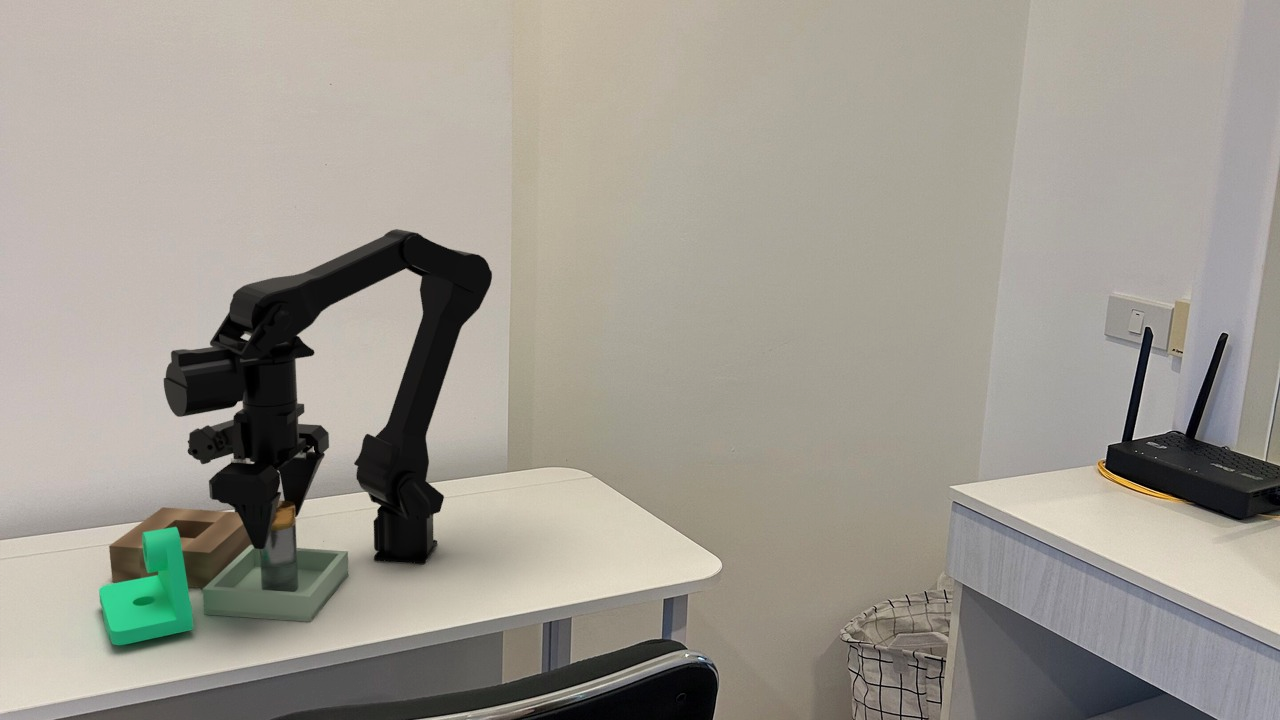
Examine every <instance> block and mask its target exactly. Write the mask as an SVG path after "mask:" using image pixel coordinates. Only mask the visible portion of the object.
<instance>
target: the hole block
mask: <svg viewBox="0 0 1280 720" xmlns="http://www.w3.org/2000/svg"><path fill="white" fill-rule="evenodd" d="M172 527H177V529H178V532H179V535H180V540H181V546H182V553H183V559H184V566H185V572H186V578H187V585H188V588H196V589H203V588H204V587H205V586H207V585H208V584H209V583H210V582H211V581H212V580H213V579H214V578H215V577H216V576H217V575H218V574H219V573H221V572H222V571H223V570H224V569H225V568H226V567H227V566H228V565H229V564H230V563H231V562H232V561H233V560H235V559H236V558H237V557H238V556H239V555H240V554H241V553H242V552H243V551H244V550H245V549H246V548H247V547H248V546H250V545H252V542H251V540H250V538H249V536H248V533H247V531H246V529H245V527H244V524H243V522H242V520H241V518H240V516H239V514H238V512H235V511H227V510H226V511H224V510H208V509H207V510H206V509H193V508H191V509H190V508H178V507H177V508H176V507H161V508H160V509H159V510H156V512H154V513H153V514H152V515H149V517H147V518H146V519H144V520H143V521H142V522H140V523H139V524H137V525H136V526H135V527H133V528H131V530H129V531H128V532H126V533H125V534H124V535H122V536H120V537H119V538H118V539H117V540H115V541H114V542H112V543H111V544H110V545H108V549H109V560H110V569H111V571H110V572H111V580H112V582H113V583H119V582H124V581H129V580H135V579H140V578H145V577H150V576H156V575H158V571H157V572H152V573H148V572H147V570H146V566H145V561H144V554H143V545H142V533H143V532H148V531H154V530H160V529H166V528H172ZM112 582H111V583H112Z"/></svg>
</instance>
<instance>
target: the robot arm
mask: <svg viewBox="0 0 1280 720" xmlns="http://www.w3.org/2000/svg"><path fill="white" fill-rule="evenodd" d="M404 270H408V271H409V272H411V273H413V274H416V275H417V276H419V277H421V280H420V286H419V292H420V293H419V294H420V295H419V296H420V299H421V300H420V301H421V307H422V309H421V310H422V316H421V321H420V322H419V326H418V330H417V333H416V334H415V338H414V341H413V345H412V348H411V350H410V354H409V357H408V360H407V363H406V366H405V368H404V373H403V375H402V378H401V381H400V384H399V386H398V387H399V388H398V390H397V393H396V396H395V399H394V402H393V405H392V408H391V412H390V415H389V418H388V421H387V423H386V425H384V427H383V428H382V429H381V430H380V431H379V432H378V434H376V435H375V436H374V435H371V434H370V433H367V434H366V433H365V435H364V437H363V439H362V444H361V449H360V452H359V455H358V457H357V458H356V460H355V461H354V463H353V464H354V465H355V466H357V469H356V478H355V479H356V481H357V482H358V484H359V486H360V488H361V489H362V491H364V492H366V493H367V495H368V496H369V499H370V501H371V502H372V503H375V504H377V505H379V507H378V509H377V516H376V517H375V519H374V520H373V548H374V550H375V551H377V552H376V553H375V555H374V556H373V561H374V562H383V563H384V562H386V563H399V564H413V565H415V564H417V565H423V564H426V563H427V561H428V560H429V558H430V557H431V555H432V554H433V552H434V550H435V549H436V547H437V545H438V540H436V539H434V515H435V514H437V513H440V512H441V509H442V506H443V502H444V499H445V496H444V494H443V493H441V492H440V491H439V490H437V489H436V488H435V487H433V485H431V484H430V483H429V482H427V476H428V471H429V470H428V469H429V466H430V459H429V453H428V452H429V451H428V444H427V434H428V431H429V428H430V424H431V420H432V418H433V416H434V411H435V409H436V406H437V403H438V400H439V396H440V394H441V391H442V388H443V385H444V382H445V379H446V376H447V372H448V370H449V366H450V363H451V360H452V358H453V354H454V351H455V348H456V345H457V342H458V339H459V336H460V332H461V330H462V327H463V326H464V325H465V323H467V322H468V320H470V319H471V317H472V316H473V315H475V313H476V312H477V311H479V309H480V308H481V306H482V303H483V302H484V299H485V297H486V296H487V293H488V291H489V289H490V287H491V285H492V280H493V272H492V270H491V269H490V266H489V263H488V261H487V259H485V257H483V256H482V255H480V254H476V253H471V252H466V251H461V250H456V249H451V248H448V247H446V246H443V245H441V244H438V243H436V242H433V241H431V240H430V239H427V238H426V237H424V236H423V235H422V234H420V233H418V232H414V231H408V230H403V229H398V228H397V229H396V228H395V229H392V230H390V231H388V232H386V233H385V234H384V235H383V236H381V237H378V238H376V239H374V240H372V241H370V242H368V243H365V244H363V245H361V246H359V247H357V248H355V249H353V250H351V251H348V252H346V253H344V254H341V255H339V256H337V257H335V258H333V259H330V260H328V261H326V262H324V263H322V264H320V265H317V266H315V267H313V268H311V269H309V270H307V271H305V272H301V273H298V274H291V275H286V276H277V277H271V278H266V279H263V280H260V281H256V282H251V283H248V284H245V285H243V286H241V287H240V288H238V289H236V291H235V292H234V293H233V295H232V299H231V302H230V303H229V311H228V313H227V314H226V316H225V317H224V319H223V321H222V322H221V324H220V325H219V327H218V329H217V330H216V332H215V334H214V335H213V337H212V338H211V340H210V341H209V345H210V346H209V347H203V348H195V349H186V348H185V349H174V350H172V351H171V352H170V360H171V361H170V363H169V364H168V366H167V367H166V370H165V377H163V391H164V393H165V399H166V401H167V404H168V406H169V409H170V410H171V411H172V413H173V414H174V416H176V417H178V418H181V417H182V418H183V417H188V416H193V415H198V414H204V413H210V412H213V411H215V412H216V411H220V410H225V409H230V408H231V409H232V408H234V407H236V406H237V404H238V402H239V403H240V402H242V408H241V409H240V410H238V411H237V412H235V414H234V415H233V419H230V420H227V421H223V422H221V423H217V424H214V425H212V426H210V425H209V424H207V425H205V426H203V427H202V428H199V427H198V428H195V429H194V430H192V431H191V432H189V434H188V435H189V437H188V440H187V443H188V444H187V445H188V448H187V453H188V455H189V456H192V458H194V459H195V460H197V461H199V463H200V464H201V465H206V464H209V463H211V461H213V460H216V459H219V458H223V457H225V456H229V455H233V457H232V458H234V459H240V460H244V459H246V458H248V459H250V461H251V462H255V463H253V464H248V463H235V462H234V463H232V462H231V461H230V463H228V464H227V465H226V466H224V467H223V468H221V469H220V470H219V471H218V472H216V473H215V474H214V475H212V477H211V478H210V479H209V480H208V487H209V488H208V491H209V498H210V499H211V500H212V501H218V502H219V503H221V504H228V505H229V506H230V507H232V508H235V509H236V511H237V512H238V514H239V516H240V518H241V520H242V522H243V524H244V527H245V529H246V531H247V533H248V536H249V538H250V540H251V542H252V545H253V547H254V548H255V549H264V548H265V546H266V543H267V540H268V537H269V533H270V530H271V526H272V523H273V519H274V516H275V513H276V509H277V506H278V502H279V501H280V498H281V495H282V494H283V499H284V500H283V501H289V502H292V503H294V504H295V518H296V517H298V516H299V514H300V512H301V509H302V507H303V504H304V503H305V499H306V497H307V495H308V492H309V490H310V488H311V485H312V483H313V481H314V479H315V477H316V474H317V472H318V469H319V467H320V465H321V463H322V462H323V459H324V458H325V456H326V455H325V452H326V451H327V450H328V449H329V448H330V439H329V438H330V437H329V436H330V435H329V434H330V433H329V432H328V431H327V429H325V428H324V427H323V426H322V425H321V424H309V423H308V424H307V423H305V424H304V423H299V417H300V416H302V415H303V414H304V413H305V403H298V388H297V384H298V383H297V367H296V365H297V363H296V360H297V359H302V358H308V357H313V356H314V355H315V350H314V349H313V348H311V347H310V346H308V345H307V344H306V343H305V342H304V341H303V340H302V339H301V337H300V336H298V335H299V334H301V333H302V332H303V331H305V330H307V328H309V327H310V326H311V325H313V323H315V322H316V320H317V318H318V317H319V316H320V314H321V313H322V312H323V311H325V310H326V309H328V308H329V307H330V306H332V305H334V304H336V303H339V302H340V301H343V300H345V299H346V298H349V297H351V296H353V295H354V294H357V293H359V292H361V291H363V290H365V289H367V288H369V287H371V286H373V285H375V284H378V283H381V281H384V280H386V279H387V278H390V277H392V276H393V275H395V274H398V273H400V272H402V271H404ZM244 335H247V336H250V337H249V338H248V340H247V339H246V338H243V336H244ZM280 486H281V488H282V491H279V488H280Z"/></svg>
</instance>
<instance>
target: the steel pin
mask: <svg viewBox="0 0 1280 720" xmlns="http://www.w3.org/2000/svg"><path fill="white" fill-rule="evenodd" d="M297 542H298V541H297V523H296V517H295V504H294V503H292V502H289V501H284V500H279V502H278V506H277V509H276V513H275V516H274V519H273V523H272V526H271V530H270V533H269V537H268V540H267V543H266V546H265V548H264V549H260V567H261V586H262V590H271V591H286V592H295V591H296V590H297V589H298V565H297V548H298V545H297V544H298V543H297Z"/></svg>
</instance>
